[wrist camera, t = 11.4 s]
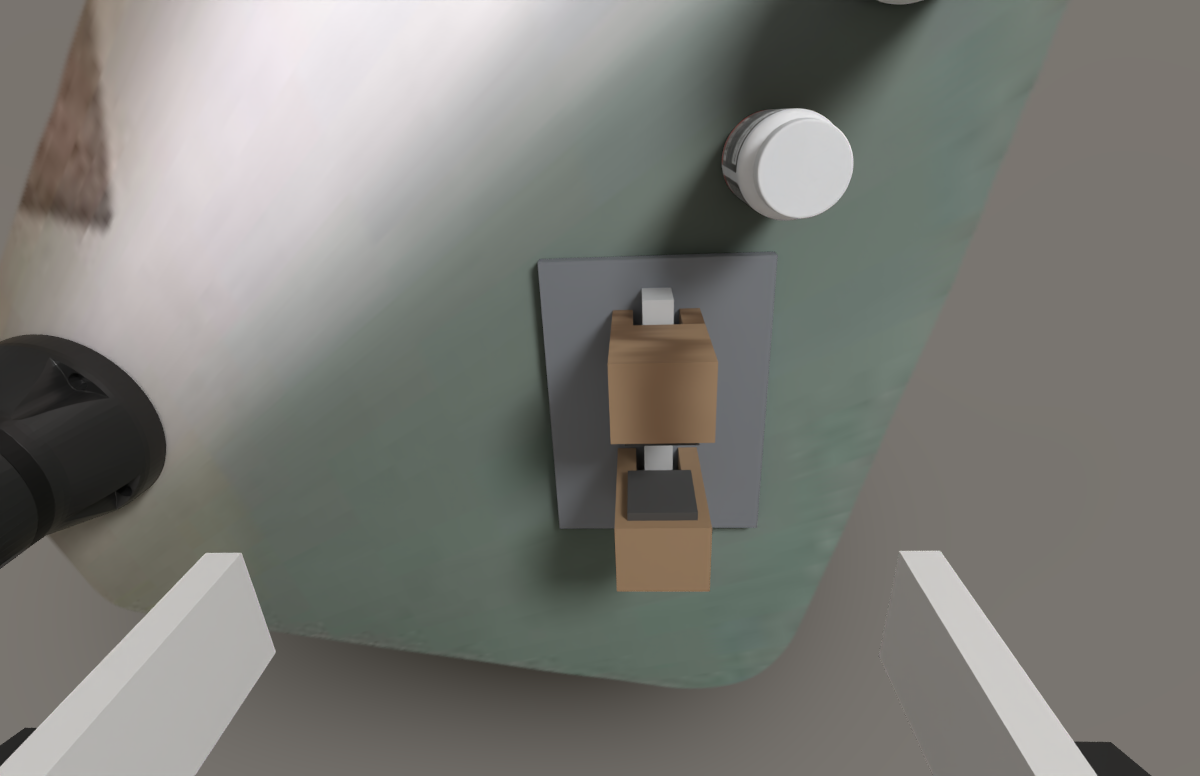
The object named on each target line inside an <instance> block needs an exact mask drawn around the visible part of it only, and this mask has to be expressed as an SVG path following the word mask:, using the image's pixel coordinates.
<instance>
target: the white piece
mask: <svg viewBox="0 0 1200 776" xmlns="http://www.w3.org/2000/svg"><path fill="white" fill-rule="evenodd" d="M877 1H880V2H883V3H888V4H910V3H915V2H919V1H922V0H877Z"/></svg>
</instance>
